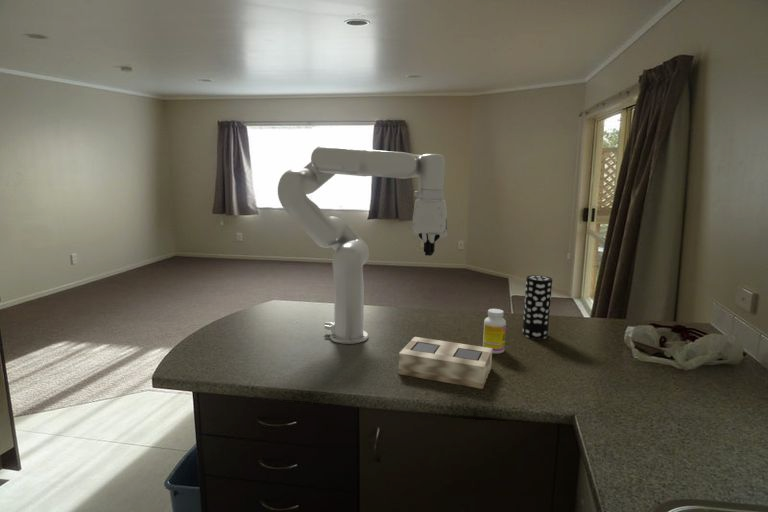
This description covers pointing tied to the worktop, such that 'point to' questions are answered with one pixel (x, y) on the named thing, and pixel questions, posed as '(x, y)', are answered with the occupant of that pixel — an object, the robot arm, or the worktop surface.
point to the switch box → (445, 363)
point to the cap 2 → (468, 354)
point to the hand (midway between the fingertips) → (428, 254)
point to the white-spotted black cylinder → (537, 306)
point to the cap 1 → (426, 348)
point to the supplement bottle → (494, 331)
